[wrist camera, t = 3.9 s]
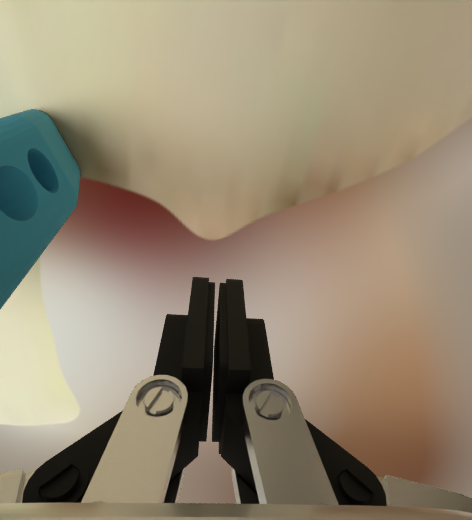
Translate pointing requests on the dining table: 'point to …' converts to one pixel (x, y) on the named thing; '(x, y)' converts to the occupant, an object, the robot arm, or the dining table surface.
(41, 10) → the dining table surface
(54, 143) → the block
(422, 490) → the robot arm
